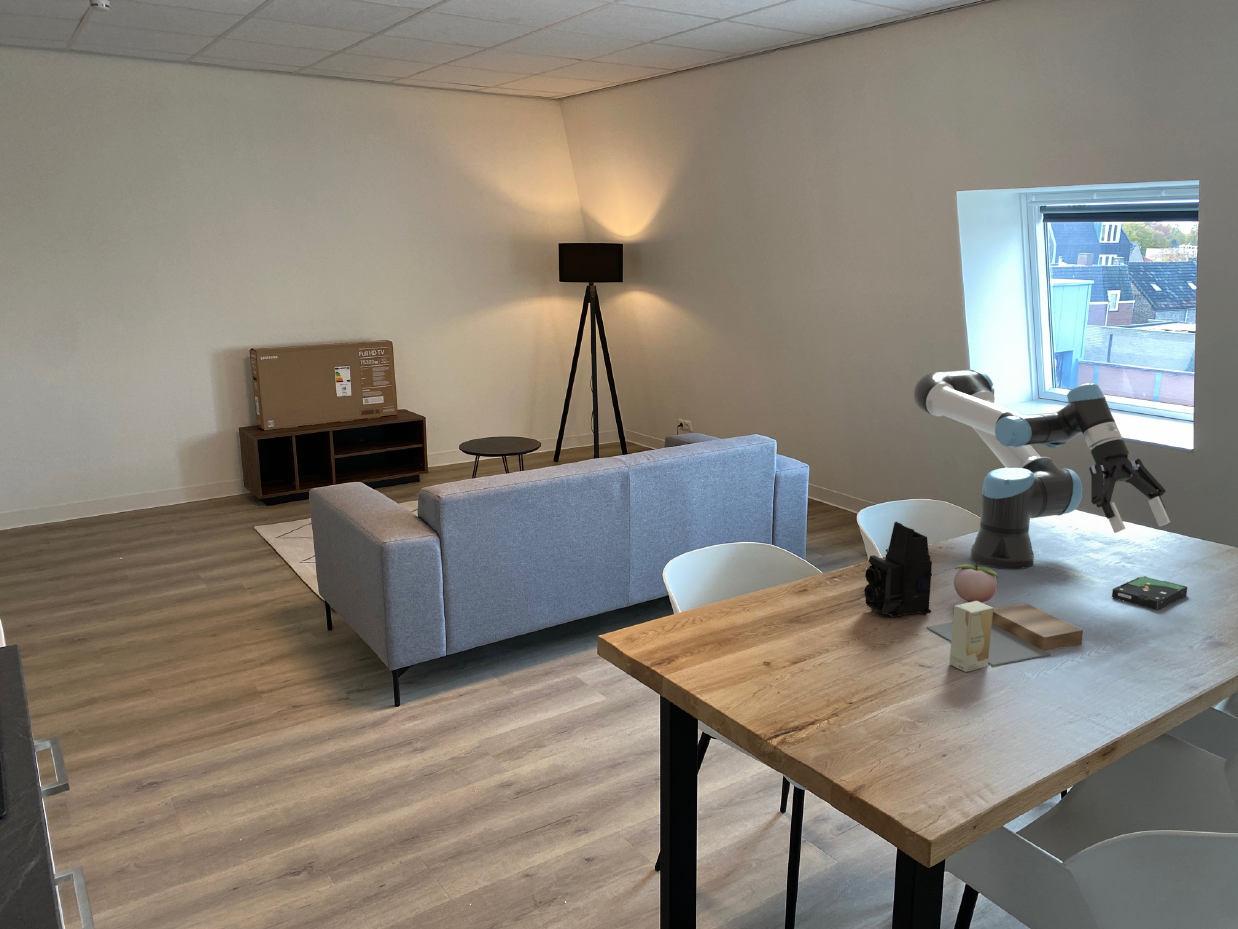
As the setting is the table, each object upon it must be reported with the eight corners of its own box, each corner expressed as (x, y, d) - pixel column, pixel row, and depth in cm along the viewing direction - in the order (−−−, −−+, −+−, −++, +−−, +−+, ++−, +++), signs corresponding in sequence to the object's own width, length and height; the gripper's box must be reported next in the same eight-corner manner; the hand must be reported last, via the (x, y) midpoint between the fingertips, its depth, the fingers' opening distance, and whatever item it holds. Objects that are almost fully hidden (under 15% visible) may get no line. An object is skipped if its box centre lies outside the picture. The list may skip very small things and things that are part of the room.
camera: (855, 608, 210) (859, 522, 205) (907, 600, 214) (912, 516, 209) (881, 624, 200) (886, 535, 196) (934, 616, 205) (940, 528, 200)
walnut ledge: (987, 622, 201) (988, 609, 200) (1024, 615, 204) (1025, 602, 204) (1042, 651, 186) (1044, 637, 186) (1081, 643, 189) (1083, 630, 189)
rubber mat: (926, 628, 198) (927, 626, 198) (980, 618, 203) (980, 617, 203) (992, 666, 180) (993, 664, 180) (1050, 655, 184) (1050, 653, 184)
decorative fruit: (950, 608, 209) (953, 566, 206) (952, 596, 216) (955, 555, 214) (995, 614, 205) (999, 571, 203) (996, 601, 212) (999, 560, 210)
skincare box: (965, 673, 177) (970, 613, 174) (948, 664, 181) (952, 605, 178) (989, 666, 180) (994, 606, 177) (971, 657, 184) (976, 599, 181)
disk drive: (1158, 613, 206) (1187, 597, 215) (1159, 601, 206) (1188, 585, 214) (1110, 600, 214) (1140, 585, 223) (1111, 588, 214) (1141, 574, 222)
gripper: (1076, 442, 215) (1112, 527, 208) (1157, 433, 223) (1195, 516, 216) (1054, 455, 222) (1089, 539, 214) (1134, 447, 230) (1170, 527, 222)
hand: (1142, 527), depth 215 cm, fingers open, 13 cm apart
